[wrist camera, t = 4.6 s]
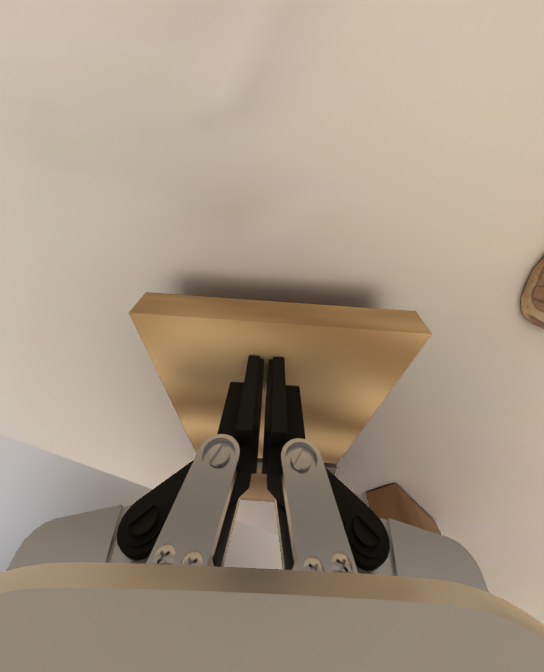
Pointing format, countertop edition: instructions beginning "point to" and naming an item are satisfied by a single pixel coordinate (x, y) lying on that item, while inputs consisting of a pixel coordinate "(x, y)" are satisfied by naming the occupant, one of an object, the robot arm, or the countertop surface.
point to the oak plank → (278, 341)
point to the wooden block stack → (399, 508)
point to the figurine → (534, 296)
